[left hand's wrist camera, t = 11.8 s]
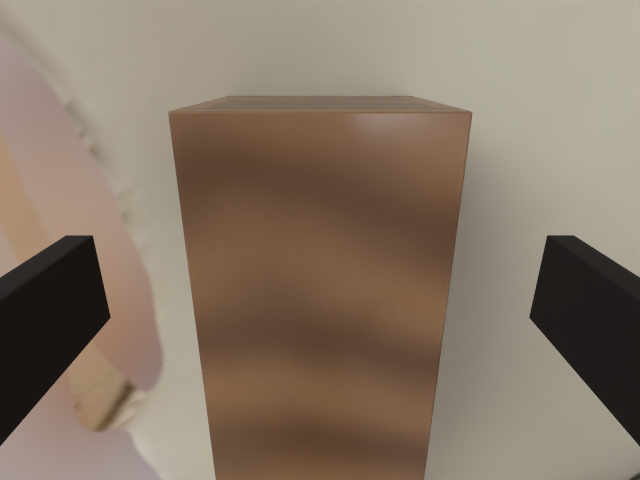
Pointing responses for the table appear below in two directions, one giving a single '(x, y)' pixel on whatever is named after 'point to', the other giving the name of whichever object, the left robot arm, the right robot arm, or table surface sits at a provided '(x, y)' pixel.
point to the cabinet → (320, 277)
